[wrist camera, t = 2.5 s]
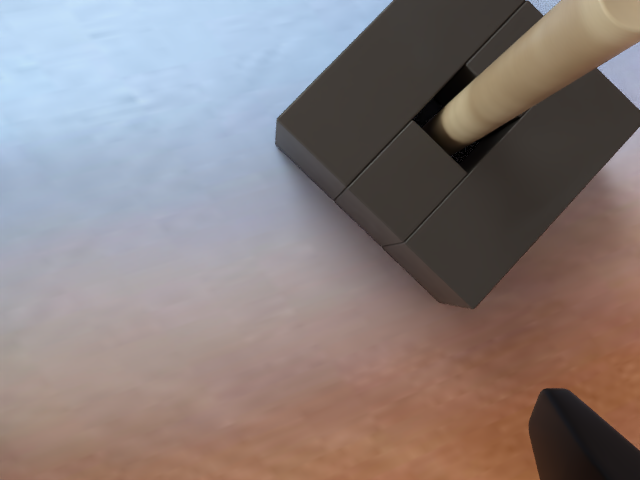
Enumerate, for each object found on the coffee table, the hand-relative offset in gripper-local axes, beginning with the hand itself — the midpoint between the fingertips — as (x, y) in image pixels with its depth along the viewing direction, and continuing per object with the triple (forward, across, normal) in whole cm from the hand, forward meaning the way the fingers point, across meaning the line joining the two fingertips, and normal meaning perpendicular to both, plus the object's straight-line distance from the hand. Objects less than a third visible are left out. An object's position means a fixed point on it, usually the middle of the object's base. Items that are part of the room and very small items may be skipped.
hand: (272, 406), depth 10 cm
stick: (+15, -6, +2) cm, 17 cm away
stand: (+15, -6, +2) cm, 17 cm away
